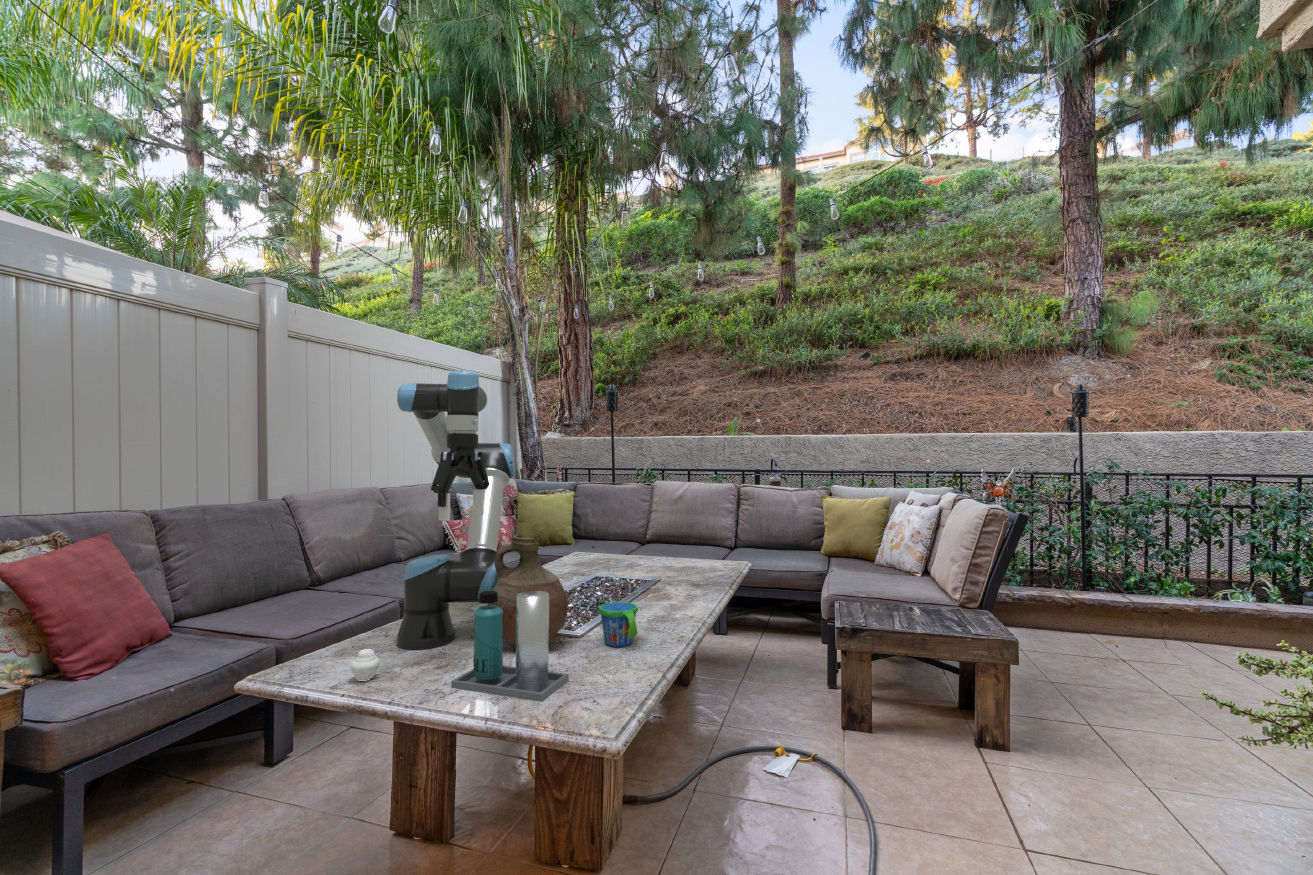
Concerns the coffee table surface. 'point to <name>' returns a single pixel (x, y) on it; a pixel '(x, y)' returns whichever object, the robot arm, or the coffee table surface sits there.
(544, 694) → the tray
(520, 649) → the canister
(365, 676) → the white lidded jar
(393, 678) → the coffee table surface
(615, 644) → the snack cup
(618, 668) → the coffee table surface
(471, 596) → the robot arm
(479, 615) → the beverage bottle
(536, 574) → the jug
